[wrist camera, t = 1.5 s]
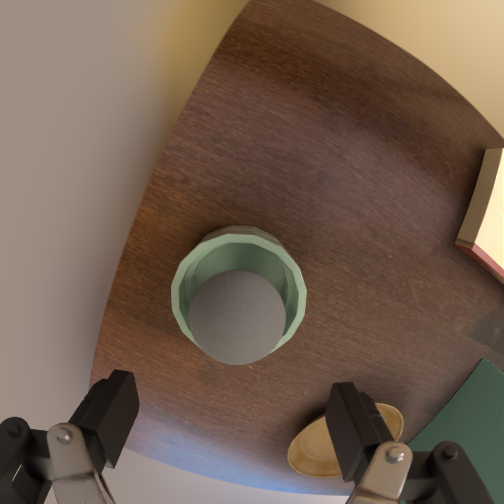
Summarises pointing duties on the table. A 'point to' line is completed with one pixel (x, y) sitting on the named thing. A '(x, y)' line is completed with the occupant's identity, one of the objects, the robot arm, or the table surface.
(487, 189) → the book
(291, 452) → the plant saucer
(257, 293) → the light bulb
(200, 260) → the bowl
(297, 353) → the table surface
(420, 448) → the box
